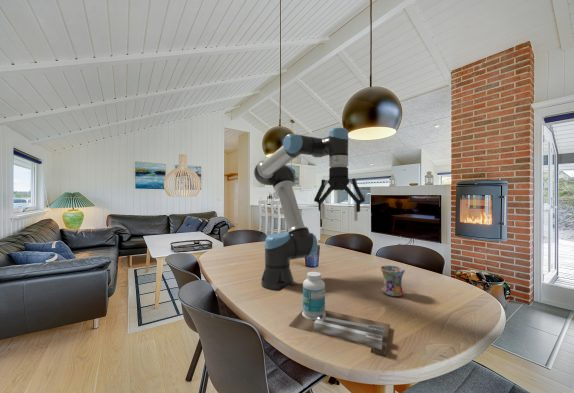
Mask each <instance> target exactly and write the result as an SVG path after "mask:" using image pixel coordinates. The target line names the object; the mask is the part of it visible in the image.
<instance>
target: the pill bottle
mask: <svg viewBox="0 0 574 393" xmlns="http://www.w3.org/2000/svg"><path fill="white" fill-rule="evenodd" d="M325 310H326V283H325V281H324V280H323V279H322V274H321V273H320V272H319V271H309V272H307V273H306V279H304V280H303V283H302V311H303V313H304V314H305V315H306V316H308V317H311V318H317V316H319V315H324V313H325Z"/></svg>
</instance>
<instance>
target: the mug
mask: <svg viewBox="0 0 574 393" xmlns="http://www.w3.org/2000/svg"><path fill="white" fill-rule="evenodd" d="M380 269H381V270H380V271H381V272H382V277H383V286H382V288H381V292H382V293H383V294H384V295H387V296H390V297H402V296H403V295H404V291H403V290H404V289H403V287H402V279H403V276H404V274H405V269H404V268H403V267H401V266H397V265H396V266H395V265H383V266H381V267H380Z"/></svg>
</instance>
